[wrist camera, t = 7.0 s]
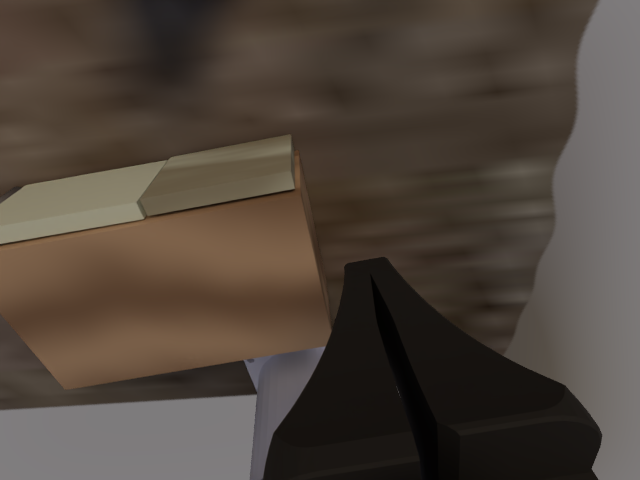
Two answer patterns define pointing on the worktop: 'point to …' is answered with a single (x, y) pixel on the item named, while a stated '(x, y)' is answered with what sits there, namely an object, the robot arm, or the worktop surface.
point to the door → (76, 202)
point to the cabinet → (178, 274)
